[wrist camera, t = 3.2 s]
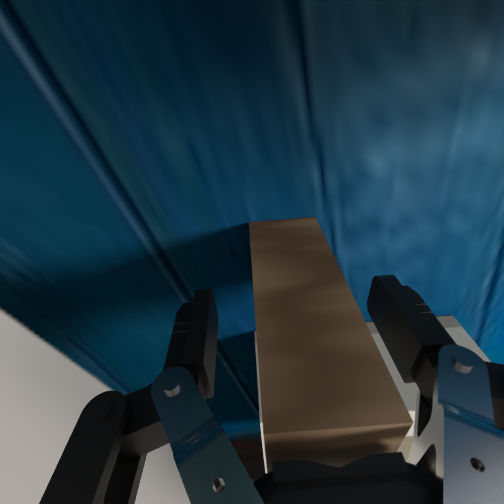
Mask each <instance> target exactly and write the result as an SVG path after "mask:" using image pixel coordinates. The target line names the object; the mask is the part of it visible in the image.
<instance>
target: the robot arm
mask: <svg viewBox="0 0 504 504" xmlns="http://www.w3.org/2000/svg"><path fill="white" fill-rule="evenodd" d="M367 308H368V312H369V315H370V317H371V319H372V321H373V323H374V325H375V327H376V329H377V331H378V332H379V334H380V336H381V338H382V340H383V342H384V344H385V346H386V348H387V350H388V352H389V354H390V356H391V358H392V360H393V362H394V364H395V366H396V368H397V370H398V372H399V374H400V376H401V378H402V379H403V381H404V383H416V384H417V386H418V388H419V390H418V392H417V398H416V410H415V422H414V434H413V442H412V447H411V450H410V453H409V457H408V462H406V461H405V459H404V456H403V454H402V452H393V453H380V454H369V455H367V456H365V457H362V458H360V459H358V460H356V461H353V462H351V463H349V464H347V465H344V466H342V467H334V466H330V465H325V464H321V463H316V462H312V461H308V460H292V461H280V462H272V471H270V472H268V473H266V474H264V475H262V476H261V477H259V478H258V479H257V480H256V481H254V482H252V481H251V479H250V477H249V475H248V473H247V471H246V470H245V468H244V466H243V464H242V462H241V460H240V459H239V457H238V455H237V453H236V451H235V450H234V448H233V446H232V444H231V442H230V440H229V439H228V437H227V435H226V433H225V431H224V430H223V428H222V426H221V425H220V423H219V422H217V421H216V419H215V417H214V416H213V414H212V412H211V410H210V408H209V406H208V404H207V403H206V398H213V395H214V380H215V365H216V350H217V335H218V314H217V308H216V303H215V298H214V293H213V289H201V290H195V292H194V297H193V302H189V303H183V304H182V306H181V307H180V309H179V310H178V311H177V313H176V318H175V322H174V327H173V331H172V332H173V333H172V335H171V340H170V344H169V348H168V353H167V357H166V361H165V366H164V369H163V371H162V372H161V373H160V374H159V375H158V376H157V377H156V378H155V380H154V382H153V383H151V384H150V385H148V386H147V387H145V388H143V389H140V390H137V391H135V392H132V393H130V394H127V395H125V396H123V395H122V394H121V393H120V392H118V391H106V392H103V393H101V394H99V395H97V396H96V397H94V398H93V399H92V400H91V401H90V402H89V403H88V404H87V405H86V406H85V408H84V409H83V411H82V413H81V415H80V417H79V419H78V421H77V423H76V426H75V428H74V430H73V432H72V434H71V436H70V438H69V441H68V443H67V445H66V447H65V449H64V451H63V453H62V456H61V458H60V460H59V462H58V464H57V466H56V469H55V471H54V473H53V475H52V477H51V479H50V482H49V484H48V486H47V488H46V490H45V492H44V494H43V497H42V499H41V501H40V503H39V504H134V503H135V499H136V495H137V491H138V487H139V483H140V479H141V475H142V471H143V468H144V463H145V460H146V456H147V453H148V452H150V451H153V450H155V449H157V448H159V447H161V446H163V445H166V444H168V443H170V446H171V448H172V451H173V457H174V460H175V463H176V466H177V468H178V471H179V473H180V476H181V478H182V481H183V484H184V487H185V489H186V492H187V495H188V497H189V500H190V502H191V504H504V365H502V364H497V363H492V362H487V361H483V360H482V359H481V357H479V356H478V355H477V354H476V353H475V352H473V351H471V350H470V349H468V348H465V347H463V346H459V345H457V344H456V343H455V341H454V340H453V339H452V337H451V336H450V335H449V333H448V332H447V331H446V329H445V328H444V327H443V326H442V324H441V323H440V322H439V320H438V319H437V318H436V316H435V315H434V314H433V313H432V311H431V310H430V308H429V307H428V306H427V305H426V303H425V302H424V300H423V299H422V298H421V297H420V295H419V294H418V293H417V292H415V291H414V290H413V289H411V288H410V287H408V286H402V285H401V284H400V282H399V281H398V280H397V278H396V277H395V276H394V275H383V276H375V277H374V278H373V280H372V284H371V288H370V292H369V296H368V300H367Z"/></svg>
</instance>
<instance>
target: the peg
mask: <svg viewBox="0 0 504 504" xmlns="http://www.w3.org/2000/svg"><path fill="white" fill-rule="evenodd" d="M249 232H250V247H251V261H252V276H253V290H254V305H255V319H256V334H257V348H258V363H259V377H260V391H261V406H262V420H263V435H264V445H265V455H266V465H267V473H268V472H270V471H272V462H280V461H292V460H308V461H312V462H316V463H321V464H325V465H330V466H334V467H342V466H344V465H347V464H349V463H351V462H353V461H356V460H358V459H360V458H362V457H365V456H367V455H369V454H380V453H393V452H397V450H398V448H399V447H400V445H401V443H402V441H403V440H404V438H405V436H406V435H407V433H408V431H409V430H410V428H411V426H412V425H413V423H414V422H413V420H412V418H411V416H410V414H409V412H408V410H407V408H406V406H405V404H404V401H403V399H402V397H401V395H400V393H399V391H398V389H397V387H396V385H395V383H394V381H393V378H392V376H391V374H390V372H389V370H388V368H387V366H386V364H385V362H384V360H383V358H382V355H381V353H380V351H379V349H378V347H377V345H376V343H375V341H374V339H373V337H372V334H371V332H370V330H369V328H368V326H367V324H366V322H365V320H364V318H363V316H362V314H361V311H360V309H359V307H358V305H357V303H356V301H355V299H354V297H353V295H352V293H351V291H350V288H349V286H348V284H347V282H346V280H345V278H344V276H343V274H342V272H341V270H340V267H339V265H338V263H337V261H336V259H335V257H334V255H333V253H332V251H331V249H330V247H329V244H328V242H327V240H326V238H325V236H324V234H323V232H322V230H321V228H320V226H319V224H318V221H317V219H316V217H310V218H298V219H285V220H273V221H260V222H249Z"/></svg>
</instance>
